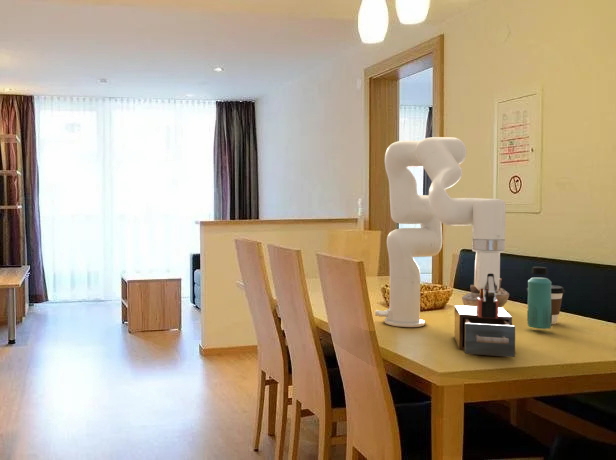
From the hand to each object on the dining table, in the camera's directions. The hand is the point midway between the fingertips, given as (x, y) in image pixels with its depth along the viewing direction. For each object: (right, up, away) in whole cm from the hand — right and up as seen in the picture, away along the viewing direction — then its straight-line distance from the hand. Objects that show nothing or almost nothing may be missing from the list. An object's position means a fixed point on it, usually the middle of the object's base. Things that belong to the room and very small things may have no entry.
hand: (487, 314), depth 151 cm
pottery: (+28, -8, +57) cm, 64 cm away
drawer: (0, -10, 0) cm, 10 cm away
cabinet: (+4, -10, +11) cm, 15 cm away
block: (0, 0, 0) cm, 0 cm away
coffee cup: (+40, -9, +40) cm, 57 cm away
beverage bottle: (+30, -9, +27) cm, 41 cm away
